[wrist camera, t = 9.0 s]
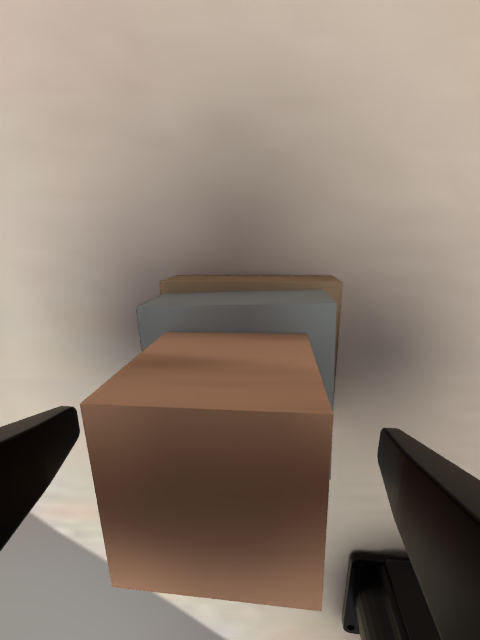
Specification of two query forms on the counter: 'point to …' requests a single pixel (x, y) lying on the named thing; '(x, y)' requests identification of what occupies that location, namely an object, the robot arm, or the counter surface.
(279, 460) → the terracotta cube
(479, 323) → the counter surface
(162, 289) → the walnut base slab
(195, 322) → the slate top slab
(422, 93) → the counter surface
